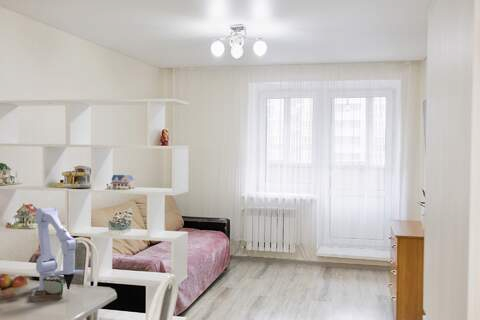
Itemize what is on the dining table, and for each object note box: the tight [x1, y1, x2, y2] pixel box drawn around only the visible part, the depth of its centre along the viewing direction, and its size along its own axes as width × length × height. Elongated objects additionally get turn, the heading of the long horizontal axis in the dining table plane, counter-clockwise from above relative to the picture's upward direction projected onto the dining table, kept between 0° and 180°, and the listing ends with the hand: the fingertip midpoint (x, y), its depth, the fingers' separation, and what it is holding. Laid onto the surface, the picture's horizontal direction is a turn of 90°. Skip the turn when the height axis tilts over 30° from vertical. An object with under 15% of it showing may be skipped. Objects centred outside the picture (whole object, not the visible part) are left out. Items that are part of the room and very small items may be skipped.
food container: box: [42, 275, 66, 300], centre depth 244 cm, size 12×6×10 cm, turn 73°
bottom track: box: [30, 288, 60, 303], centre depth 241 cm, size 11×13×3 cm
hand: (68, 288), depth 244 cm, fingers closed
